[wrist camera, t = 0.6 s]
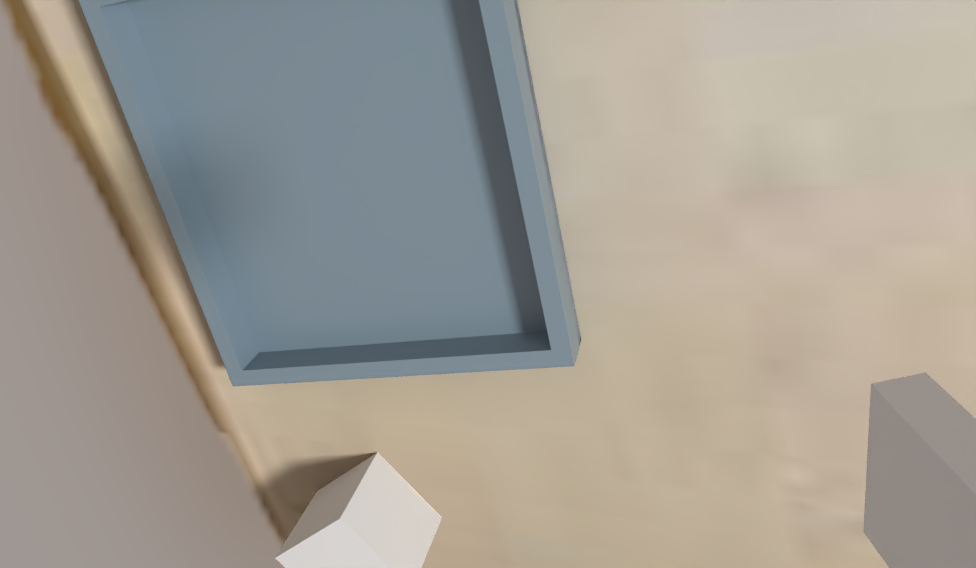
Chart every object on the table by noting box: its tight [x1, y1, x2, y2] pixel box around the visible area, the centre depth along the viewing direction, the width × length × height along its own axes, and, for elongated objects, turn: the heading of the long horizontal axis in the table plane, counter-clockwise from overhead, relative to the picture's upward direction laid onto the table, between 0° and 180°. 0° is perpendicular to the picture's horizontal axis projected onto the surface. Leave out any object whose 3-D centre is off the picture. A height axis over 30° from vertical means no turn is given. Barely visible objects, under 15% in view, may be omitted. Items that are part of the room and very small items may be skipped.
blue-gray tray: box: [79, 0, 581, 386], centre depth 40 cm, size 22×20×3 cm
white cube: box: [275, 452, 442, 568], centre depth 49 cm, size 6×6×6 cm
